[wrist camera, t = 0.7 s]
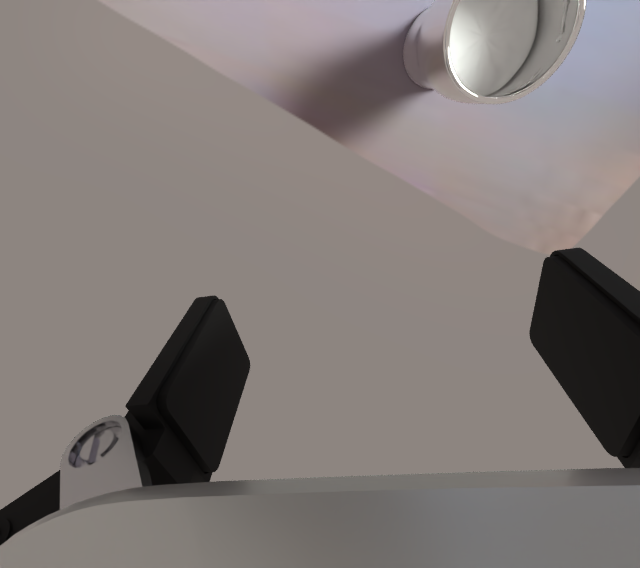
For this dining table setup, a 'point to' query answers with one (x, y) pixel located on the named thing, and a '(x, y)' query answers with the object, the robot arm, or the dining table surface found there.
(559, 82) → the dining table surface
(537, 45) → the beer glass
